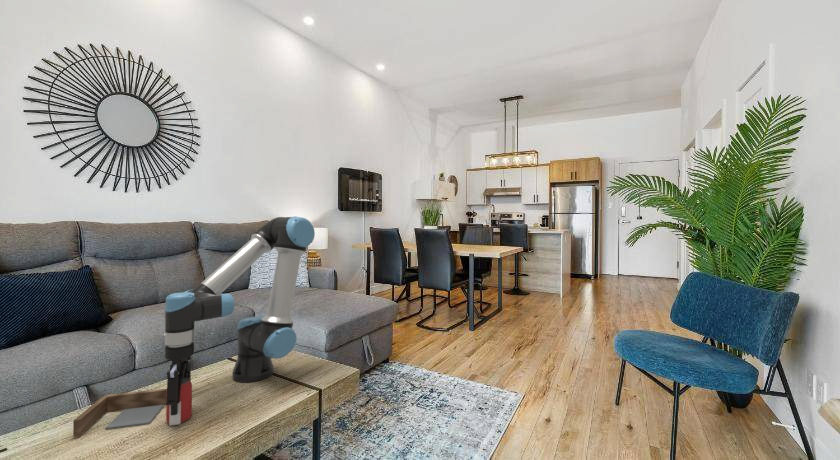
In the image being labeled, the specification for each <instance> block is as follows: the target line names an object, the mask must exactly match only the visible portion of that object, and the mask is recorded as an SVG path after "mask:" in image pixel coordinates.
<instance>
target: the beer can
mask: <svg viewBox="0 0 840 460" xmlns="http://www.w3.org/2000/svg"><path fill="white" fill-rule="evenodd" d="M191 381H192V380H191ZM191 381H190V378H188V377H184V378H183V379H182V383H181V392H180V401H181V423H180V424H182V423H185V422H186V421H188V420H189V419H191V417H192V414H193V413H192V412H193V384H192V382H191ZM166 403H167V394H166ZM165 406H166V408H165V410H166V411H165V412H166V414H165V415H166V416H165V417H166V418H165V419H166V420H165V421H166V423H167V424H169V409H170V405H165Z"/></svg>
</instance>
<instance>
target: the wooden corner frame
mask: <svg viewBox="0 0 840 460" xmlns="http://www.w3.org/2000/svg"><path fill="white" fill-rule="evenodd" d="M166 394H167V387H166V388H161V389H160V388H158V389H150V390H149V389H148V390H141V391H140V390H139V391H130V392H123V393H122V392H121V393H113V394H106V395H103V396H102V397H100V398H99V399H97V400H96V401H95V402H94V403H93V404H92V405H91V406H88V408H87V409H85V411H83V412H82V413H81V414H79V416H77V417H76V418H75V419H73V427H72V428H73V436H72V437H73V439H77V438H81V437H82V436H83V435H84V434H85V433H87V432H88V431H89V430H90V429H91V428H92V427H93V426H94V425H95V424H96V423H98V422H99V421H100V419H101V418H103V417H104V416H105V415H106V414H107V413H112V412H122V411H123V410H124V409H132V408H140V407H149V406H157V405H164V406H166Z"/></svg>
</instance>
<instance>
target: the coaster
mask: <svg viewBox="0 0 840 460" xmlns="http://www.w3.org/2000/svg"><path fill="white" fill-rule="evenodd" d="M163 408H165V405H157V406H149V407H140V408H132V409H124V410H122V411H120V413H118V415H117V416H115V418H113V420H112V421H111V422H109V424H108V425H107V426H106V427H105V431H107V430H115V429H122V428H124V429H125V428H129V427H137V426H145V425H151V424H152V422H153V421H154V420H155V418H156V417H157V416H158V415H159V414H160V412H161V411H162V409H163Z"/></svg>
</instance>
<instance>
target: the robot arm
mask: <svg viewBox="0 0 840 460" xmlns="http://www.w3.org/2000/svg"><path fill="white" fill-rule="evenodd" d="M315 233H316V232H315V228H314V226H313V224H312V223H311V221H310V220H309V219H307V218H305V217H301V216H285V217H284V216H278V217H275V218H272V219H270V220H269V221H267V222H266V223H264V224H263V225H262V226H261V227H260V228H258V229H257V230H256V231H255V232H254V233H252V234H251V236H250V237H251V239H249V240H248V241H247V242H246V243H245V244H244V245H243V246H241V248H239V249H238V250H237V251H236V252H234V254H233V255H231V256H230V257H229V258H228V259H227V260H226V261H224V262H223V263H222V264H221V265H220V266H219V267H217V268H216V269H215V270H214V271H213V272H212V273H211V274H209V276H207V277H206V278H205V279H204V280H203V281H201V282H200V283H199V284H198V285H197V286H195V288H192V289H188V290H185V291H184V292H174V293H170V294H169V295H167V296H166V297H165V303H164V321H165V322H164V325H165V326H164V327H165V329H164V331H165V333H164V334H163V335H162V337H164V338H165V339H164V344H165V347H164V358H165V360H169V361H171V364H170V366H169V370H167V372H166V376H167V378H166V379H167V381H166V382H167V383H166V386H167V387H166V388H167V403H166V405H170V409H169V423H168V426H177V425H181V424H182V423H181V401H180V392H181V383H182V379H183V378H184V377H188V378H190V381H192V379H191V378H192V374H191V369H192V368H191V367H192V366H191V360H192V356H193V355H194V354H195V342H194V341H195V322H200V321H207V320H212V319H217V318H223V317H227V316H230V315H232V314H233V313H234V310H235V307H236V306H235V305H236V304H235V303H236V302H235V298H234V297H233V295H232V294H231V293H223V292H224V291H225V290H226V289H228V288H229V287H230V285H232V284H233V282H235V281H237V280H238V278H239V277H240V276H242V274H244V273H245V272H246V271H247V270H248V269H249V268H250V267H251V266H252V265H253V264H254V263H256V261H258V260H259V259H260V258H261V257H262V256H263V255H264V254H265V253H269V252H271V251H272V250H273V249H275V250H276V251H277V259H276V264H275V269H274V274H273V278H272V279H273V280H272V283H271V284H272V285H271V290H270V293H269V299H268V300H269V301H268V307H267V311H266V315H258V316H250V317H247V318H242V319H241V320H239V321H238V323H237V329H236V331H237V356H236V357H237V358H236V361H235V364H234V367H233V370H232V375H231V377H232V380H233V381H235V382H238V383H252V382H258V381H262V380H265V379H268V378H269V377H270V376H272V375H273V374H274V371H275V367H274V366H275V365H274V363H273V360H272V359H283V358H284V357H286V356H288V355H289V353H291V351H293V350H294V348H295V346H296V343H297V333H296V332H295V330H294V329H293V325H294V320H293V319H292V318H291V314H292V307H293V304H294V303H293V302H294V296H295V292H296V287H297V279H298V274H299V269H300V263H301V258H302V256H303V255H305V254H306V251H307V249H308V248H307V247H309V246H310V245H311V244H312V243H313V242H314V240H315ZM166 405H165V406H166Z"/></svg>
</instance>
